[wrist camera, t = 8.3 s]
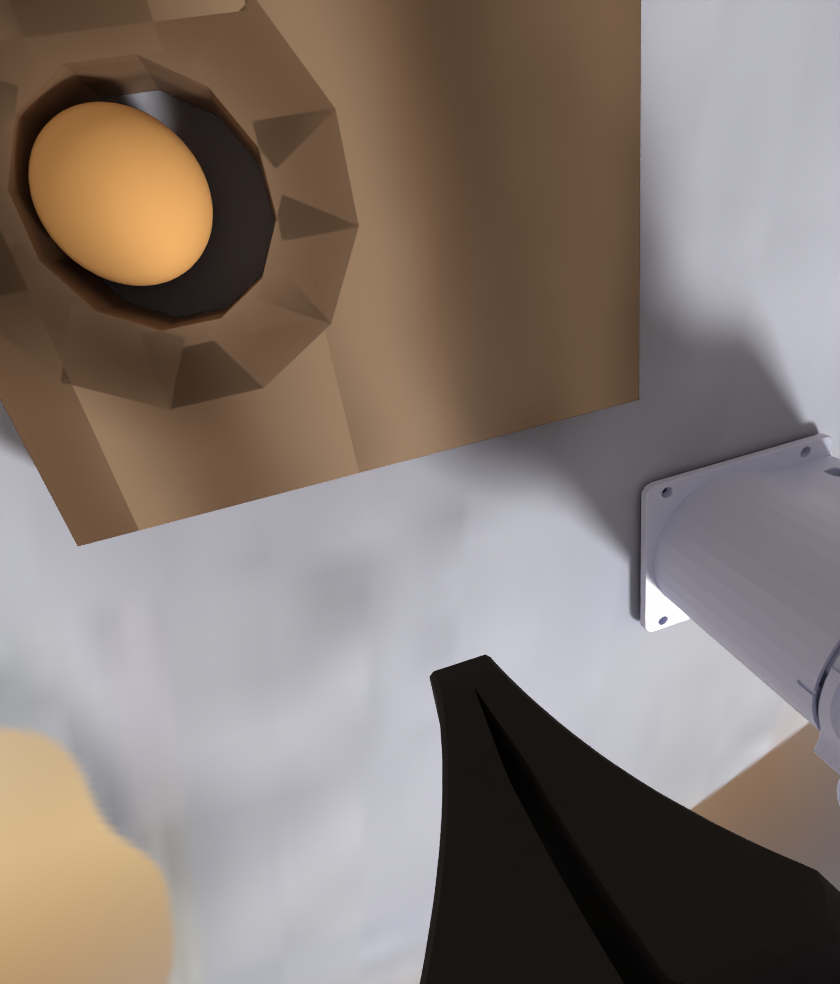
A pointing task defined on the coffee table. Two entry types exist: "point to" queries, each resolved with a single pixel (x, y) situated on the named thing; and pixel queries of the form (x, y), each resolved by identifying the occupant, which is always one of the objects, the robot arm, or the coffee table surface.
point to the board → (331, 244)
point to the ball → (120, 193)
